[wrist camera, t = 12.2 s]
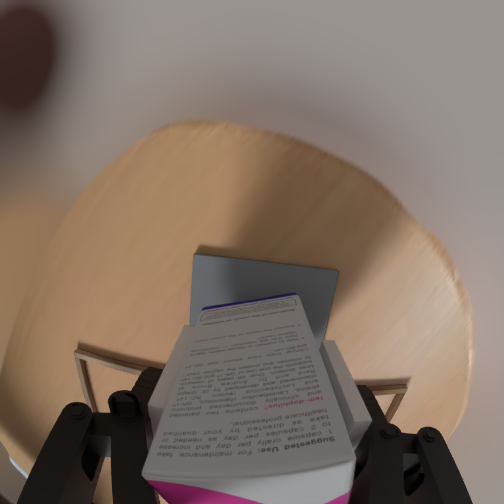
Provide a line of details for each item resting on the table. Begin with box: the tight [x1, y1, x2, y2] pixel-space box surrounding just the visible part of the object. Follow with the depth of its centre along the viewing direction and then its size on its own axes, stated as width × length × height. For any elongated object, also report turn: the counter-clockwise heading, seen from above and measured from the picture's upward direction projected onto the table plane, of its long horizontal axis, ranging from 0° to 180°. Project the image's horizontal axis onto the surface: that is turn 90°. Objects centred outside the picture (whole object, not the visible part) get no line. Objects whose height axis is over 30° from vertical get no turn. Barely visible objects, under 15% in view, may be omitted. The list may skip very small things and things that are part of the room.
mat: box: [190, 253, 339, 349], centre depth 18 cm, size 9×9×1 cm
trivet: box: [74, 349, 147, 412], centre depth 20 cm, size 9×9×1 cm
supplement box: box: [142, 292, 356, 504], centre depth 11 cm, size 6×6×12 cm
